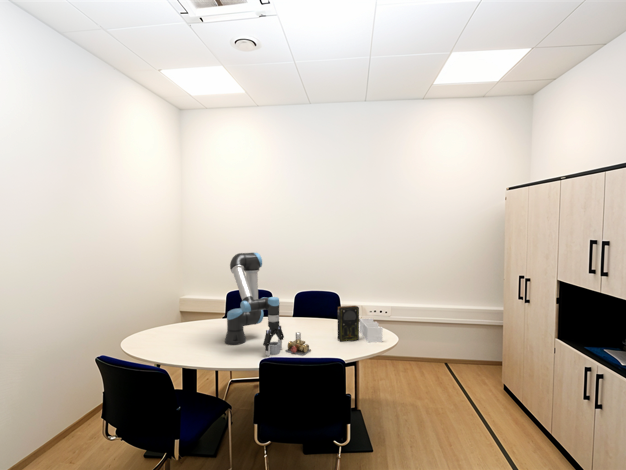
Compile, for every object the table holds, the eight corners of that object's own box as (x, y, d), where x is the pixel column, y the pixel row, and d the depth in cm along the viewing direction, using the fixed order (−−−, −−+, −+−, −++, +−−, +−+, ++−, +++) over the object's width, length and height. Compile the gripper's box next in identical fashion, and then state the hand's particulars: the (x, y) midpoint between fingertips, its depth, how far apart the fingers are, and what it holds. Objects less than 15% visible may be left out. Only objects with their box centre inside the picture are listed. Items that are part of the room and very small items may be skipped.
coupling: (265, 353, 231) (265, 344, 231) (272, 349, 238) (272, 340, 238) (275, 355, 227) (275, 346, 227) (282, 351, 234) (282, 342, 234)
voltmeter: (340, 342, 252) (340, 308, 252) (336, 338, 261) (336, 305, 260) (360, 340, 256) (360, 307, 256) (355, 337, 265) (355, 304, 264)
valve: (284, 352, 233) (284, 333, 233) (293, 347, 242) (293, 329, 242) (302, 356, 226) (302, 337, 226) (310, 350, 235) (310, 332, 235)
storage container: (359, 332, 277) (359, 318, 277) (372, 331, 279) (373, 318, 278) (367, 342, 253) (367, 327, 252) (382, 342, 254) (382, 327, 253)
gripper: (266, 325, 219) (266, 359, 220) (288, 317, 241) (289, 347, 241) (257, 324, 223) (257, 357, 224) (280, 315, 245) (280, 345, 245)
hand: (273, 352), depth 232 cm, fingers open, 13 cm apart
